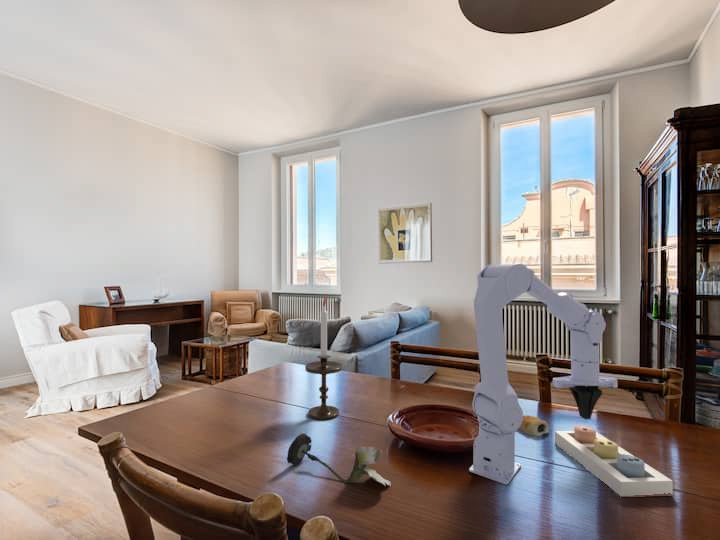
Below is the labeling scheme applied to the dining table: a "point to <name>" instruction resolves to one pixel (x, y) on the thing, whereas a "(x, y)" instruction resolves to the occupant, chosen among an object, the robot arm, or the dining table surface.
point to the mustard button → (605, 449)
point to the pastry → (533, 426)
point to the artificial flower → (361, 461)
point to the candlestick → (323, 374)
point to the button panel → (613, 468)
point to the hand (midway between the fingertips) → (585, 417)
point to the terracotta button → (584, 434)
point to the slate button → (630, 466)
